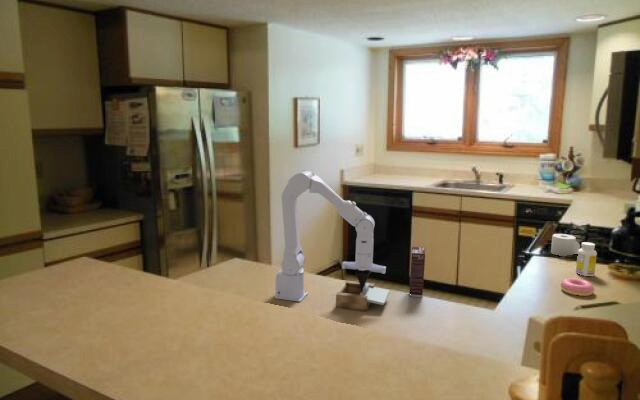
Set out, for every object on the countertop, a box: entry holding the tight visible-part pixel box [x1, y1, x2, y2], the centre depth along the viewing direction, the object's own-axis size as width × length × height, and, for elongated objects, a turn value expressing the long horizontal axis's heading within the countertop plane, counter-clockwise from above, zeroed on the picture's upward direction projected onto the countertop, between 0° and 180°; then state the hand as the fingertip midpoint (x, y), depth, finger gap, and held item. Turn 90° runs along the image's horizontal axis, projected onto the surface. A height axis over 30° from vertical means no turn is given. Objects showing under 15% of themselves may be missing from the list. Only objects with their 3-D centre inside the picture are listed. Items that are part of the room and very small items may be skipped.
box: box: [335, 280, 376, 313], centre depth 164 cm, size 10×14×4 cm
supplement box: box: [408, 246, 426, 298], centre depth 171 cm, size 9×5×16 cm, turn 168°
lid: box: [360, 282, 391, 306], centre depth 162 cm, size 9×11×3 cm
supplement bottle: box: [575, 241, 598, 277], centre depth 193 cm, size 7×7×13 cm
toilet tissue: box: [550, 233, 581, 256], centre depth 221 cm, size 9×13×9 cm
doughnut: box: [560, 277, 595, 297], centre depth 176 cm, size 11×11×4 cm
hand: (362, 290), depth 163 cm, fingers closed, pressing on lid
